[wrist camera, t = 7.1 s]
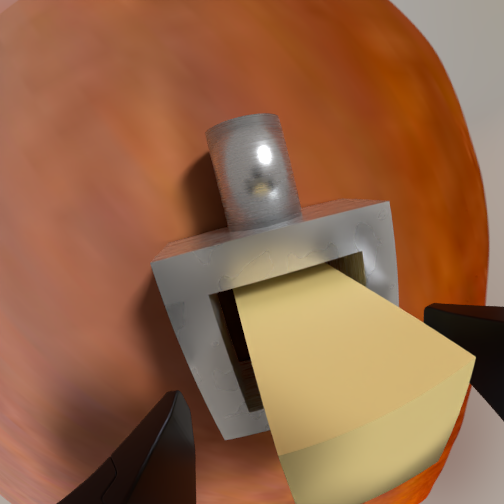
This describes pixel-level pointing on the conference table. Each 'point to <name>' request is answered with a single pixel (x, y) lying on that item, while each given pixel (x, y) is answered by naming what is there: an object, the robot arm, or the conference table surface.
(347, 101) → the conference table surface
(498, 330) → the robot arm
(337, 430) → the butter yellow block
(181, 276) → the bracket head
